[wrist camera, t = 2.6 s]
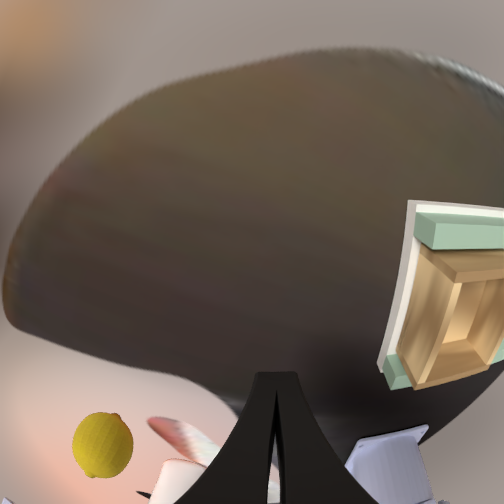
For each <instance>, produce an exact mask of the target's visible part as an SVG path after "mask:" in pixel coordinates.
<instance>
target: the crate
mask: <svg viewBox="0 0 504 504" xmlns="http://www.w3.org/2000/svg"><path fill="white" fill-rule="evenodd" d="M503 338H504V249H502V248H495V249H431V248H430V247H428V246H427V245H426V244H424V243H421V246H420V252H419V258H418V263H417V268H416V274H415V278H414V283H413V288H412V292H411V296H410V301H409V305H408V309H407V312H406V316H405V320H404V323H403V327H402V330H401V334H400V337H399V340H398V344H397V347H396V350H395V351H396V353H397V355H398V357H399V359H400V361H401V363H402V365H403V367H404V369H405V372H406V374H407V376H408V378H409V380H410V382H411V384H412V387H413V389H414V390H418V389H422V388H427V387H431V386H435V385H439V384H443V383H446V382H450V381H453V380H457V379H460V378H463V377H467V376H470V375H473V374H476V373H479V372H482V371H484V370H487V369H488V368H489V366H490V364H491V363H492V361H493V359H494V357H495V355H496V353H497V351H498V349H499V347H500V345H501V343H502V340H503Z"/></svg>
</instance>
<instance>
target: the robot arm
mask: <svg viewBox="0 0 504 504" xmlns="http://www.w3.org/2000/svg"><path fill="white" fill-rule="evenodd" d="M428 428H429V427H428V425H427V424H425V425H422V426H418V427H414V428H411V429H407V430H402V431H398V432H394V433H389V434H384V435H379V436H374V437H368V438H363V439H360V440H358V441H357V443H356V445H355V447H354V449H353V451H352V453H351V455H350V456H349V458H348V460H347V462H346V464H345V465H344V464H343V463H342V462H341V460H340V459H339V458H338V456H337V455H336V453H335V452H334V450H333V449H332V447H331V446H330V444H329V443H328V441H327V439H326V438H325V436H324V434H323V433H322V431H321V429H320V427H319V426H318V424H317V422H316V420H315V418H314V416H313V414H312V412H311V410H310V408H309V405H308V403H307V401H306V398H305V396H304V394H303V391H302V388H301V385H300V382H299V379H298V375H297V373H296V372H258V373H256V374H255V378H254V382H253V386H252V389H251V392H250V395H249V397H248V400H247V402H246V404H245V407H244V409H243V411H242V413H241V415H240V417H239V419H238V421H237V423H236V425H235V427H234V429H233V430H232V432H231V434H230V435H229V437H228V439H227V440H226V442H225V444H224V445H223V447H222V448H221V450H220V451H219V453H218V454H217V456H216V457H215V458H214V460H213V461H212V462H211V464H210V465H209V466H208V468H207V469H206V470H205V471H204V472H203V474H202V475H201V476H200V477H199V478H198V479H197V481H196V482H195V483H194V484H193V485H192V486H191V487H190V488H189V489H188V490H187V491H186V492H185V493H184V494H183V495H182V496H181V497H180V498H179V499H178V500H177V501H176V502H175V503H174V504H267V497H268V483H269V475H270V467H271V461H272V453H273V445H274V437H275V434H276V444H277V455H278V466H279V477H280V504H436V501H435V499H434V497H433V493H432V490H431V487H430V483H429V479H428V476H427V473H426V469H425V466H424V463H423V460H422V457H421V453H420V451H419V447H418V445H417V443H418V442H419V440H420V439H421V438H422V436H423V435H424V434H425V432H426V431H427V429H428ZM2 504H15V503H14V502H12V501H11V500H9V499H8V498H6V497H5V498H4V500H3V502H2ZM438 504H450V503H449V502H447V501H444V500H441V501H439V502H438Z"/></svg>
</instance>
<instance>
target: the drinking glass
mask: <svg viewBox="0 0 504 504" xmlns="http://www.w3.org/2000/svg"><path fill="white" fill-rule="evenodd" d="M204 471H205V469H204V468H203V467H202V466H200V465H198V464H196V463H193V462H190V461H187V460H181V459H169V460H166V461H165V462H164V463H163V465H162V469H161V472H160V475H159V477H158V480H157V482H156V485H155V487H154V490H153V492H152V495H151V497H150V499H149V502H148V504H174V503H175V502H176V501H177V500H178V499H179V498H180V497H181V496H182V495H183V494H184V493H185V492H186V491H187V490H188V489H189V488H190V487H191V486H192V485H193V484H194V483H195V482H196V481H197V479H198V478H199V477H200V476H201V475H202V474H203V472H204Z"/></svg>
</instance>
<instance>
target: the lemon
mask: <svg viewBox="0 0 504 504" xmlns="http://www.w3.org/2000/svg"><path fill="white" fill-rule="evenodd" d="M72 449H73V454H74V457H75V459H76V461H77V463H78V464H79V466H80V467H81V468H82V469H83V470H84V472H85V474H86V475H87V476H88V477H90V478H95V477H98V478H111V477H114V476H116V475H118V474H119V473H121V472H122V471H123V470H124V468H125V467H126V466H127V464H128V463H129V461H130V459H131V456H132V452H133V437H132V434H131V432H130V430H129V428H128V427H127V425H126V424H125V423H124V422H123V421H122V420H121V417H120V415H118V414H117V413H112V414H109V413H103V412H98V413H94V414H91V415H89V416H87V417H86V418H85V419H84V420H83V421H82V422H81V423H80V424H79V426H78V427H77V429H76V431H75V434H74V438H73V444H72Z"/></svg>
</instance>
